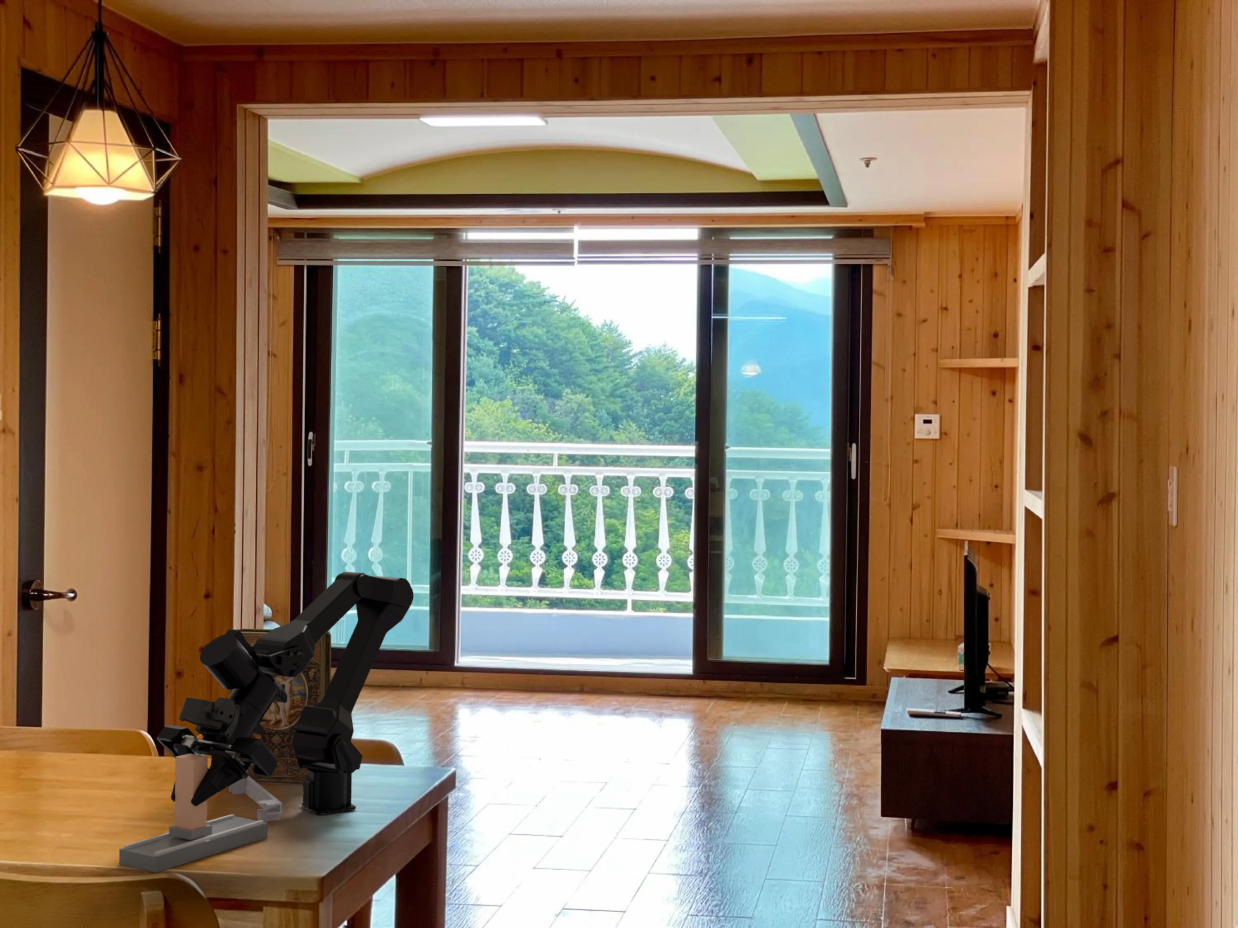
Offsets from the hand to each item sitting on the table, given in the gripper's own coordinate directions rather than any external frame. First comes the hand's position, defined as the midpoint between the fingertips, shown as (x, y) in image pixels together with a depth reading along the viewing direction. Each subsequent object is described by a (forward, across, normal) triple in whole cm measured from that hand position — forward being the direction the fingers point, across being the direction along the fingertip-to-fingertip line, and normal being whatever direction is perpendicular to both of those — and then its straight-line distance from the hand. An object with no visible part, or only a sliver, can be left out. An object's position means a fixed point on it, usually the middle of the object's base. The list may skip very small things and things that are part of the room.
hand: (183, 802), depth 184 cm
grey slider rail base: (+3, 0, +7) cm, 7 cm away
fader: (+2, 0, +4) cm, 5 cm away
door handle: (-11, -11, +22) cm, 27 cm away
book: (-22, -20, +32) cm, 44 cm away
